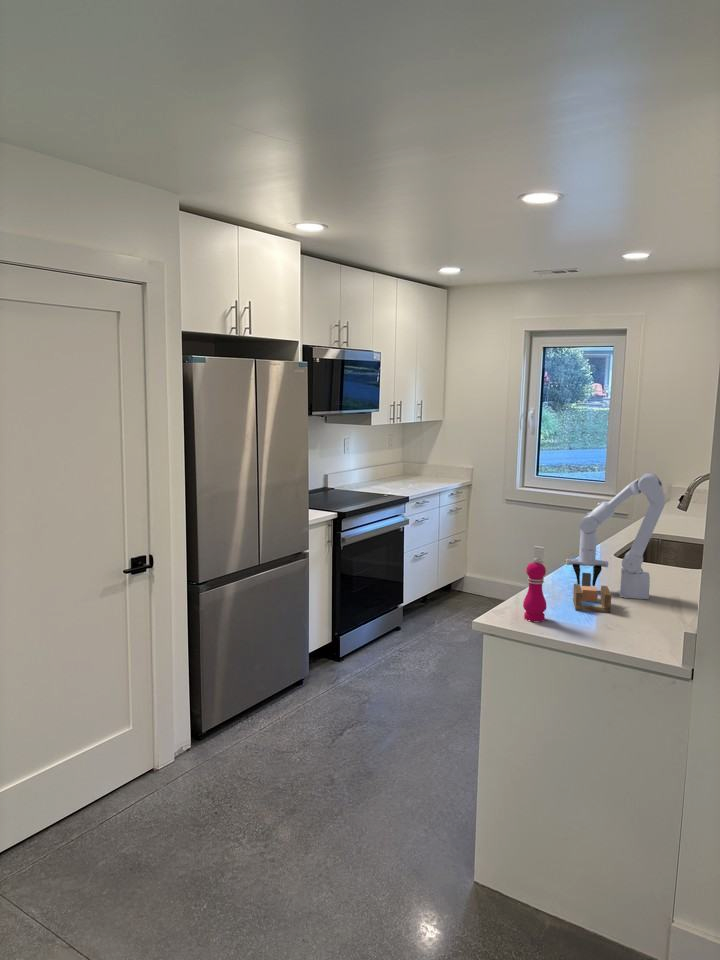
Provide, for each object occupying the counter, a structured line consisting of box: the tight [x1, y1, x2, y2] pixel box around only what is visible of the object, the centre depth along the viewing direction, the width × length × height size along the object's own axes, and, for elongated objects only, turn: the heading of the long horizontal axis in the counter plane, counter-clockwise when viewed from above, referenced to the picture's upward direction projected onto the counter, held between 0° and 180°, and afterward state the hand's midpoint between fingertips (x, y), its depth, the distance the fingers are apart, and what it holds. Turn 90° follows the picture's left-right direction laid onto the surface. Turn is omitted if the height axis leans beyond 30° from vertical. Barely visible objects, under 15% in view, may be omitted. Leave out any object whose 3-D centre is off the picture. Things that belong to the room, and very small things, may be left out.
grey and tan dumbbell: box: [580, 572, 599, 603], centre depth 242 cm, size 5×16×6 cm, turn 167°
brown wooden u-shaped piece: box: [572, 583, 612, 614], centre depth 230 cm, size 11×11×6 cm
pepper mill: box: [522, 557, 547, 622], centre depth 216 cm, size 7×7×20 cm
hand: (586, 584), depth 249 cm, fingers open, 5 cm apart
